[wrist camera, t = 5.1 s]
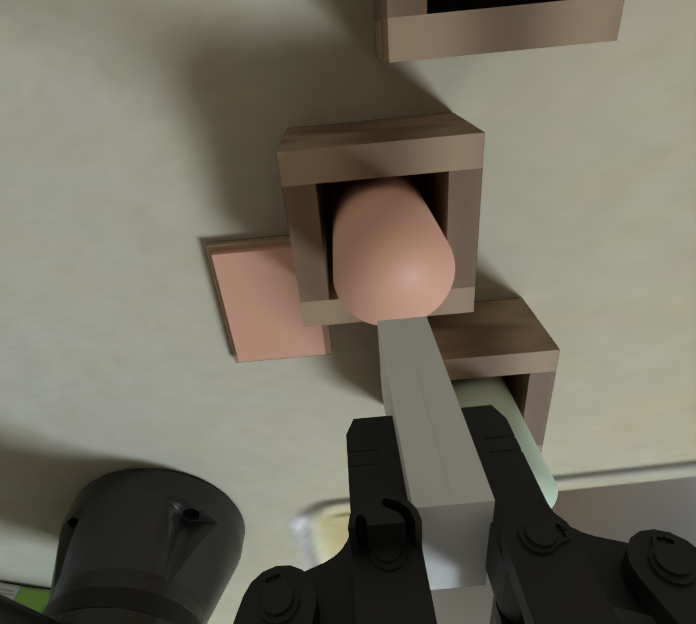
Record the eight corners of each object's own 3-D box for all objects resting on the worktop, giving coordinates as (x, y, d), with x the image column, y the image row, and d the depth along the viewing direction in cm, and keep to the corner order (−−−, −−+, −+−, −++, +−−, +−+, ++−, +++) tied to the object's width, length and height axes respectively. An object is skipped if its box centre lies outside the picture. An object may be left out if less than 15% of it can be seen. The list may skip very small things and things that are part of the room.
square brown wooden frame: (393, 409, 36) (403, 472, 31) (388, 309, 31) (399, 363, 26) (509, 399, 36) (539, 460, 31) (522, 297, 31) (560, 349, 26)
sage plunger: (425, 415, 32) (455, 535, 25) (425, 357, 30) (458, 470, 22) (497, 409, 32) (550, 527, 24) (503, 350, 30) (565, 462, 22)
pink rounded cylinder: (336, 250, 28) (339, 331, 20) (327, 166, 25) (326, 222, 18) (419, 242, 28) (453, 321, 20) (419, 157, 25) (457, 210, 18)
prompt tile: (236, 358, 33) (234, 367, 32) (206, 242, 28) (203, 249, 28) (332, 350, 33) (332, 358, 32) (317, 232, 28) (316, 239, 27)
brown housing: (308, 276, 30) (304, 327, 25) (287, 128, 25) (276, 152, 20) (448, 263, 30) (473, 311, 25) (453, 112, 25) (484, 132, 20)
